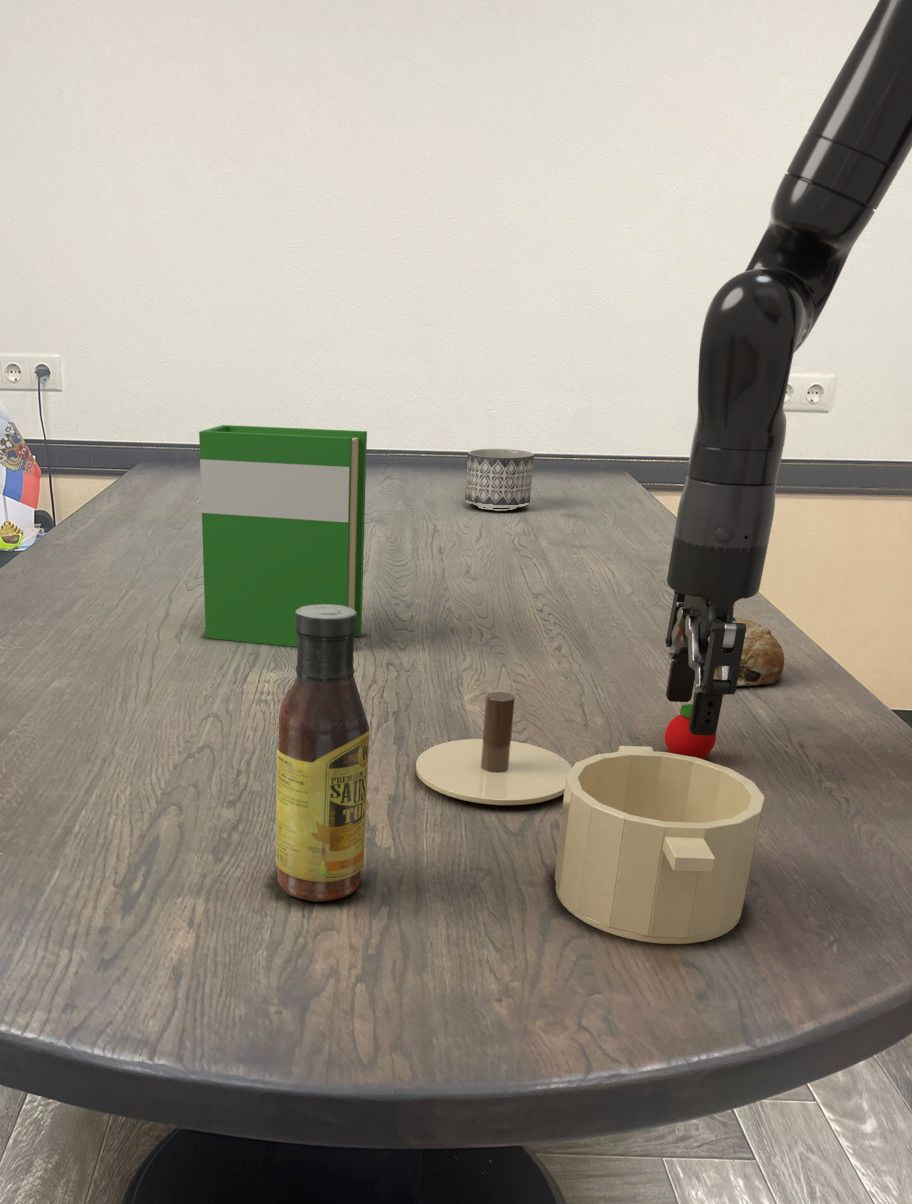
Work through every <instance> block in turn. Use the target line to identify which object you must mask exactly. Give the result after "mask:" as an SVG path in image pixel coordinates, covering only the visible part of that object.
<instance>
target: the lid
mask: <svg viewBox="0 0 912 1204" xmlns="http://www.w3.org/2000/svg"><path fill="white" fill-rule="evenodd" d="M515 699H516V696H515V695H514V694H512V693H509V692H505V691H492V692H488V693H487V694H486V695H485V703H484V704H485V705H484V720H483V731H482V738H467V739H466V738H465V739H458V740H451V741H447V742H443V743H439V744H436V745H433V746H432V747H429V748H427V749H425V750H424V751H423V752H422V753H420V755H419V756H418V757H417V759H416V762H415V773H416V775H417V777H418V779H419V780H420V781H421V782H422V783H423V784H424V785H426V786H427V787H429V788H430V789H431V790H434V791H436V792H438V793H440V794H442V795H444V796H448V797H451V798H454V799H457V800H460V801H461V800H462V801H466V802H470V803H476V804H484V805H494V806H522V805H523V806H524V805H531V804H537V803H543V802H547V801H550V800H553V799H556V798H558V797H560V796H562V795H564V791H565V782H566V776H567V774H568V773H569V772H570V770H571V769H572V767H573V766H572V765H571V764H570V762H568V761H567V760H566V759H565V758H564V757H562V756H560V755H559V754H557V753H555V752H553V751H551V750H548V749H546V748H544V747H540V746H537V745H533V744H529V743H525V742H520V741H515V740H512V734H513V723H514V714H515V713H514V711H515V701H516V700H515Z"/></svg>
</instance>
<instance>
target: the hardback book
mask: <svg viewBox="0 0 912 1204" xmlns="http://www.w3.org/2000/svg"><path fill="white" fill-rule="evenodd" d="M198 439H199V441H198V442H199V443H198V444H199V466H200V467H199V469H200V473H199V474H200V494H201V495H200V498H201V499H200V500H201V528H202V529H201V530H202V531H201V532H202V560H203V561H202V563H203V590H204V591H203V593H204V621H205V622H204V623H205V638H206V639H213V640H214V639H215V640H224V641H233V642H234V641H235V642H243V643H245V642H246V643H254V644H265V645H274V646H285V647H286V646H287V647H296V648H297V644H298V641H297V639H298V637H297V633H296V630H295V612H296V610H297V609H299V608H300V607H303V606H308V605H321V604H333V605H342V606H346V607H349V608H352V609H353V610H355V611H356V613H357V632H356V634H355V636H354V637H356V638H357V637H359V638H360V637H361V636H362V625H363V624H362V623H363V593H364V592H363V590H364V583H363V582H364V554H365V552H364V551H365V517H366V483H367V481H366V479H367V443H368V431H367V430H345V429H324V428H301V427H279V426H278V427H276V426H253V425H235V424H234V425H233V424H221V425H218V426H214V427H211V428H207V429H204V430H200V431H199V432H198Z"/></svg>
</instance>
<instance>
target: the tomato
mask: <svg viewBox="0 0 912 1204" xmlns="http://www.w3.org/2000/svg"><path fill="white" fill-rule="evenodd" d="M692 704H693V703H687V704H683V705H681V706H680V708H679V714H678V715H676V716H675V717H673V718H672V719H671V720H670V722H669V723H668V724H667V726H666V729H665V732H664V742H665V746H666V748H667V750H668V753H673V754H678V755H684V756H690V757H696V758H700V759H703V760H706V757H707V756H708V755H709V754H710V753H711V751H712V750H713V748H714V747H715V745H716V740H717V732H716V733H715V734H714V735H711V736H707V735H693V734H692V733H691V732H690V730H689V728H688V727H689V721H690V716H691V710H692Z"/></svg>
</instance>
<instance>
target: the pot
mask: <svg viewBox="0 0 912 1204" xmlns="http://www.w3.org/2000/svg"><path fill="white" fill-rule="evenodd" d="M765 799H766V798H765V795H764V794H763V793H762V791H761V790H760V789H759V787H758V785H756V783H755V782H754V781H753V780H751V779H749V778H748V777H746V776H744V775H742V774H740V773H739V772H737V771H735V770H734V769H732V768H730V767H727V766H724V765H721V764H718V763H715V762H711V761H708V760H706V759H705V760H703V759H700V758H696V757H690V756H684V755H678V754H673V753H669V752H667V751H654V749H653V747H652V746H640V745H639V746H637V745H619V746H618V751H614V752H605V753H600V754H598V753H597V754H595V755H592V756H589V757H587V758H585V759H581V760H580V761H577V762H575V763H574V764H573V766H572V769H571V770H570V772H569V773H568V774H567V776H566V782H565V791H564V794H563V800H562V802H563V803H562V808H561V809H562V810H561V819H560V827H559V836H558V837H559V838H558V844H557V854H556V861H555V871H554V880H555V886H554V887H555V888H554V889H555V893H556V896H557V898H558V900H559V902H560V903H561V905H562V906H563V907H564V908H565V909H566V910H567V911H568V912H570V914H572V915H573V916H575V917H576V918H577V919H579V920H581V921H582V922H583V923H586V924H587V925H589V926H591V927H593V928H595V929H598V930H601V931H602V932H605V933H608V934H611V935H614V936H617V937H621V938H624V939H627V940H631V941H632V940H633V941H637V942H644V943H651V944H659V945H661V944H662V945H687V944H695V943H696V944H697V943H703V942H707V941H711V940H715V939H716V938H719V937H722V936H723V935H725V934H728V933H729V932H730V931H731V930H733V929H734V928H735V927H736V926H737V925H738V923H739V922H740V921H741V920H740V919H741V918H742V912H743V909H744V905H745V902H746V901H745V900H746V896H747V890H748V886H749V880H750V875H751V871H752V864H753V860H754V855H755V851H756V844H757V841H758V840H757V839H758V835H759V829H760V824H761V819H762V814H763V810H764V804H765Z"/></svg>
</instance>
